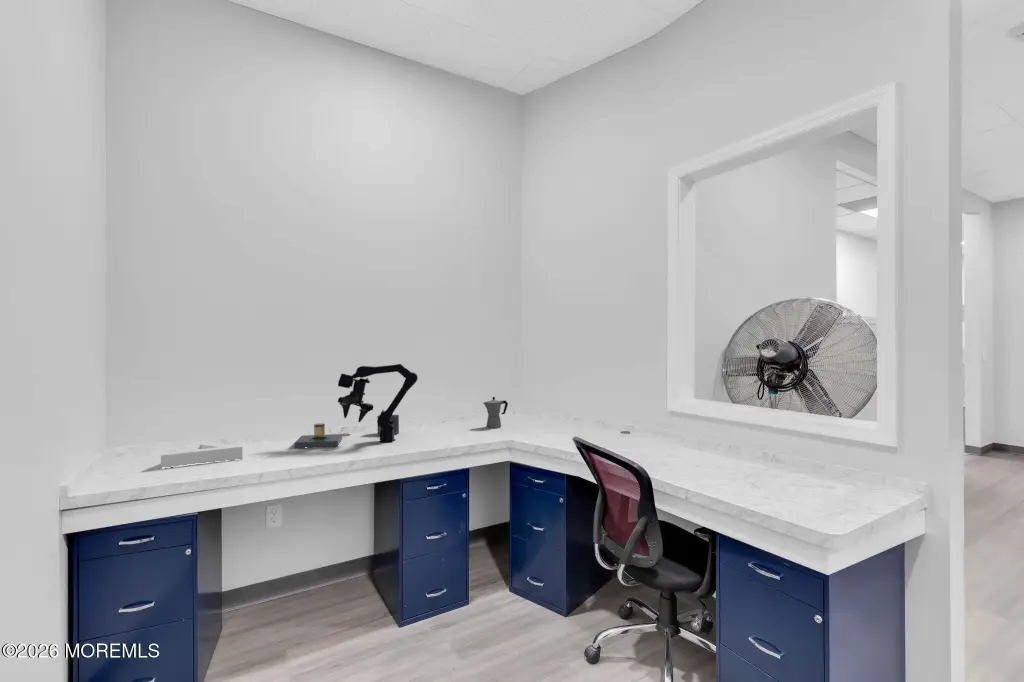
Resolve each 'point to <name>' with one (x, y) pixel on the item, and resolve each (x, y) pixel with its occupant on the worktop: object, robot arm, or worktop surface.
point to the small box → (395, 421)
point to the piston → (319, 431)
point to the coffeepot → (494, 412)
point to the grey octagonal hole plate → (318, 441)
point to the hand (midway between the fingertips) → (352, 420)
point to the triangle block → (201, 454)
